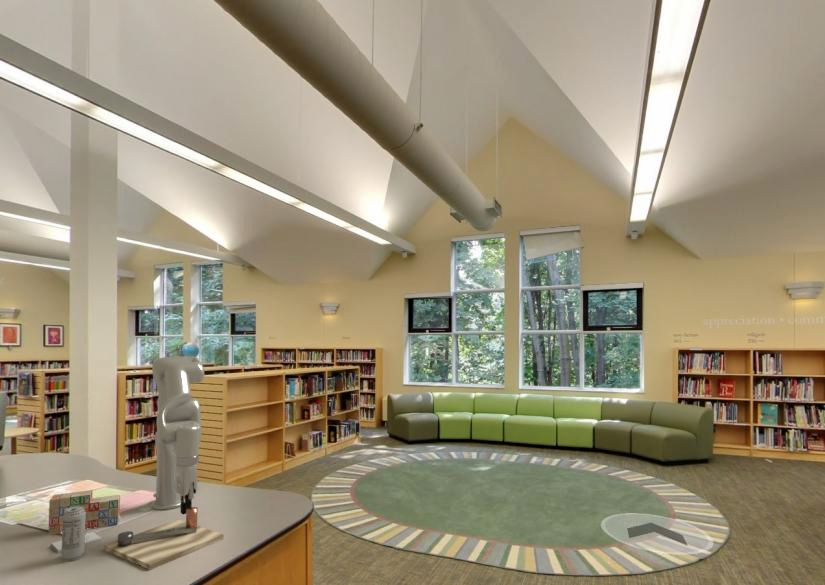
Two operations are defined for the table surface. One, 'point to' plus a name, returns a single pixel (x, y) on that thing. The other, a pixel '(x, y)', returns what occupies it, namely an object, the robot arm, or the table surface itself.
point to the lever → (191, 526)
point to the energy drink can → (73, 533)
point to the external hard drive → (89, 539)
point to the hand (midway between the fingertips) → (186, 512)
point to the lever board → (165, 545)
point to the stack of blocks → (96, 509)
